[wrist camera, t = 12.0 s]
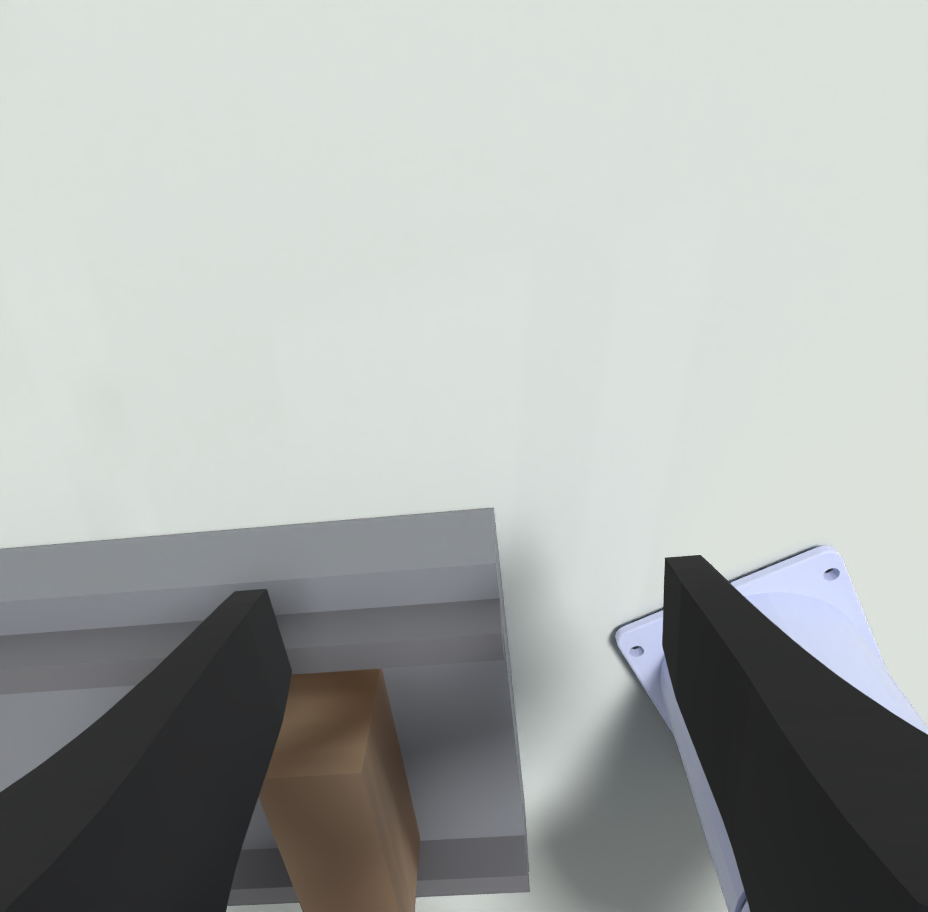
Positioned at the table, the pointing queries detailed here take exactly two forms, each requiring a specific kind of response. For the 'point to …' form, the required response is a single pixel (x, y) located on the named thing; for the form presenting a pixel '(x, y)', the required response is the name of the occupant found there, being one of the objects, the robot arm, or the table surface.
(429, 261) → the table surface
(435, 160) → the table surface
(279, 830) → the bar
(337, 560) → the channel board
